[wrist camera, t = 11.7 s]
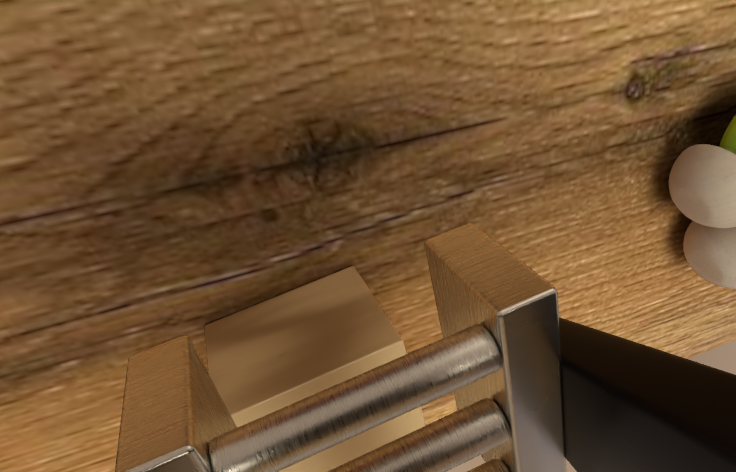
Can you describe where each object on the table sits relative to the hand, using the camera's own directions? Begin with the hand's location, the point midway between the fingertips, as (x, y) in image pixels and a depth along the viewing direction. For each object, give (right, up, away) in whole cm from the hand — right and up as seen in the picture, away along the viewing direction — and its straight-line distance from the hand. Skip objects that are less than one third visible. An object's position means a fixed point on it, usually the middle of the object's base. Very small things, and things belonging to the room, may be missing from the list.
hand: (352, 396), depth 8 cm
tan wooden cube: (-2, -2, +13) cm, 13 cm away
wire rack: (0, 0, 0) cm, 0 cm away
